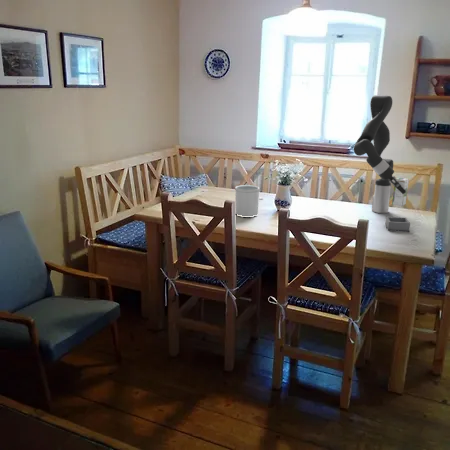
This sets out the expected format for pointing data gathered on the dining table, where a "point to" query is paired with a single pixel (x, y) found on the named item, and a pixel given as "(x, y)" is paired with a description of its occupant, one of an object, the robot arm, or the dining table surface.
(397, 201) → the syrup box
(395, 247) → the dining table surface
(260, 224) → the dining table surface
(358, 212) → the dining table surface
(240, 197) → the utensil holder
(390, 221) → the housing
